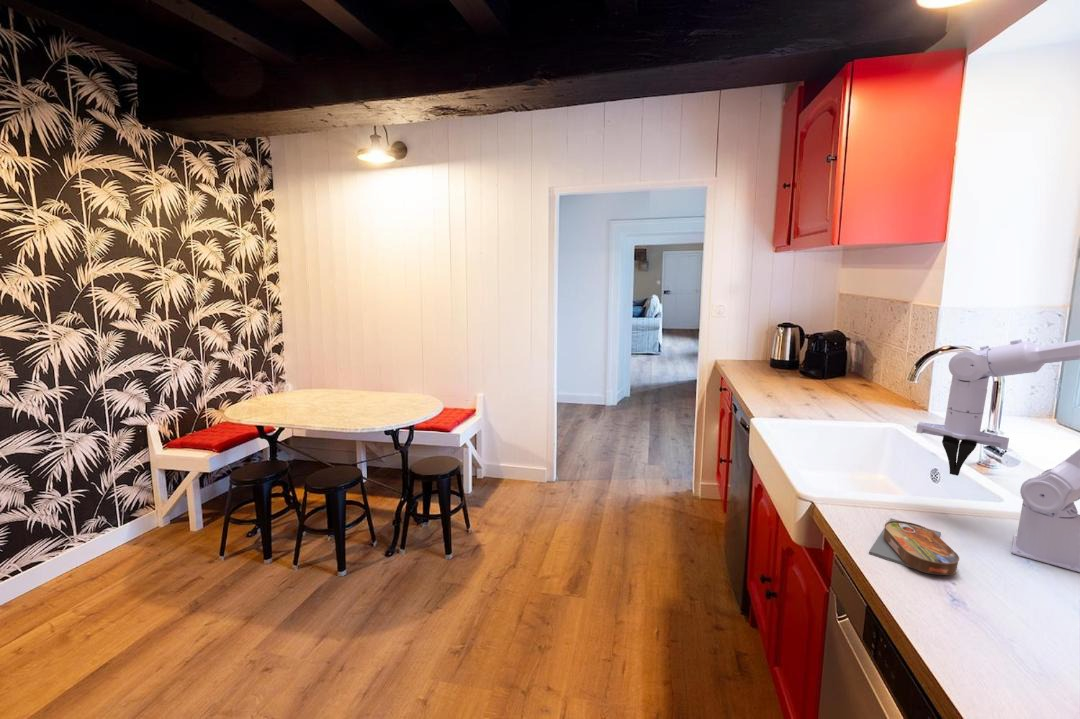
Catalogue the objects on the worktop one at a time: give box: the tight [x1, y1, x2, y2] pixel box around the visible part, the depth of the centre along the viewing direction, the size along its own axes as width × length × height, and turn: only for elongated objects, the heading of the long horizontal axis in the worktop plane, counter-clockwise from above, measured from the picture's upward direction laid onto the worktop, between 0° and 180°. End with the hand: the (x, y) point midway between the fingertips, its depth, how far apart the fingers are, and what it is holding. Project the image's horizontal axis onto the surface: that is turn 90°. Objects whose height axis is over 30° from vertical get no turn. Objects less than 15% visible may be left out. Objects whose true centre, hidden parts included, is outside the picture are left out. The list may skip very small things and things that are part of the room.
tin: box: [884, 520, 960, 576], centre depth 97 cm, size 15×3×8 cm
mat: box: [868, 517, 942, 569], centre depth 102 cm, size 8×18×1 cm, turn 136°
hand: (954, 473), depth 109 cm, fingers closed
